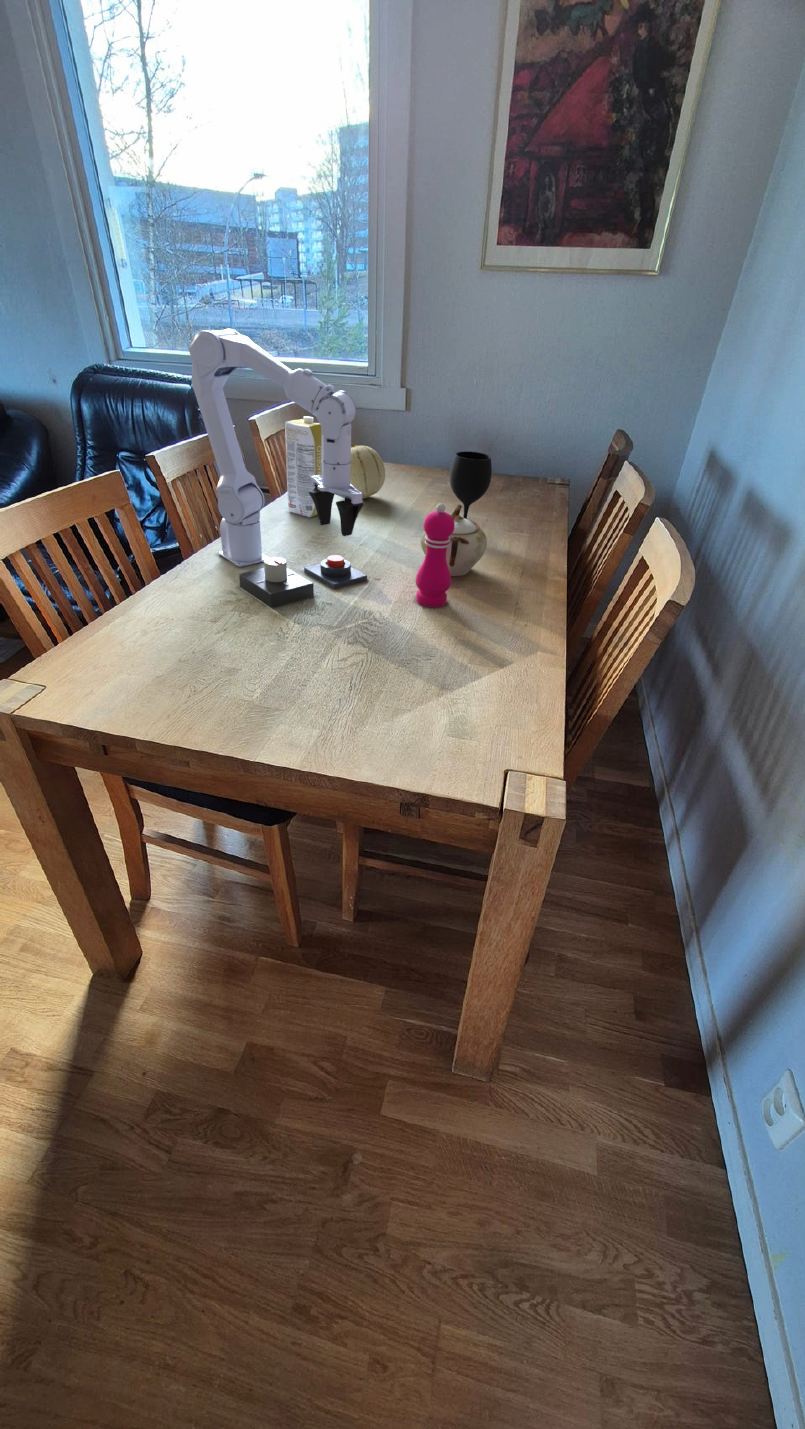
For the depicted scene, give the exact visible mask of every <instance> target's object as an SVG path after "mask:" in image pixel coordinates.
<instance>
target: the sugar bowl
mask: <svg viewBox="0 0 805 1429" xmlns="http://www.w3.org/2000/svg"><path fill="white" fill-rule="evenodd" d="M462 508H463V506H462V504H459V503H458V504H457V505H456V507H455V509H454V511H453V512H452V513H451V514H450V515H451V516H452V517H453V520H454V524H455V527H454V531H453V533H452V534H451V535H450V536H449V537H450V539H451V540H450V546H449V547H447V551H446V561H447V565H448V568H449V572H450V576H451V577H460V576H461V577H462V576H465V575H467V574H468V573H469V572H470V571H471V570H472V569H473V567H475V565H476V564H477V563H478V562H479V561H480V560H481V559H482V557H483V556H484V554H485V553H486V551H487V547H488V539H487V536H486V533H485V531H483V529H482V528H481V527H480V525H479V524H478V523H477V522H476V521H473V520H470V519H468V518H467V519H465V518H463V517H462V516H461V515H460V513H461V510H462ZM426 535H427V534H426V532H425V531H424V530H423V531H422V534H421V536H420V546H421V550H422V552H423V554H424V557H425V556H426V544H425V536H426Z"/></svg>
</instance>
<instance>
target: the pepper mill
mask: <svg viewBox="0 0 805 1429" xmlns="http://www.w3.org/2000/svg"><path fill="white" fill-rule="evenodd" d="M446 508H447V507H446V505H445V504H444V503H438V504H437V505H436V507H435V510H434V511H431V512H430V513H428V514H427V515H426V516H425V518H424V521H423V532H424V531H425V532H426V534H427V535H426V536H425V544H426V556H425V555H424V559H423V561H422V563H421V565H420V567H419V569H418V571H417V573H416V576H415V585H416V587H417V588H418V590H417V591H416V599H415V600H416V602H417V603H418V604H419V605H421V606H424V607H427V608H440V607H443V606H445V605H446V603H447V598H448V593H447V591H449V589H450V587H451V585H452V576H450V572H449V568H448V565H447V561H446V551H447V547H449V546H450V540H451V539H450V537H449V536H450V535H451V534H452V533H453V531H454V527H455V524H454V520H453V517H452V516H451V514H450V513H449V512H447V511H446V510H447V509H446Z"/></svg>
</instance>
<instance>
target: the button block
mask: <svg viewBox="0 0 805 1429" xmlns="http://www.w3.org/2000/svg"><path fill="white" fill-rule="evenodd" d="M303 572H304V573H305V574H306V575H308V576H310V577H312V578H314V579H316V580H317V581H319V582H320V583H322V584H324V585H325V586H327V587H330V588H331V589H333V590H337V589H341V588H344V587H347V586H351V585H356V584H358V583H361V582H365V581H367V580H368V574H365V573H364V572H362V571H360V570H359V569H356V568H354V567H353V566H352V564H351V562H350V560H348V559H346V558H344V566H342V567H331V566H328V565H327V558H324V559H322V560H321V561H320V563H316V564H311V565H308V566H304V567H303Z"/></svg>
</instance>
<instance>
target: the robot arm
mask: <svg viewBox="0 0 805 1429" xmlns="http://www.w3.org/2000/svg"><path fill="white" fill-rule="evenodd" d="M188 353H189V356H190V359H191V384H192V389H193V391H194V392H193V393H194V395H195V398H196V402H197V405H198V408H199V411H200V414H201V417H202V421H203V423H204V424H203V425H204V428H205V430H206V432H207V433H206V434H207V436H208V440H209V444H210V446H211V449H212V450H211V451H212V453H213V457H214V458H215V463H216V466H217V468H218V472H219V475H220V476H219V480H218V482H217V485H216V488H215V491H216V493H217V509H218V511H219V514H220V515H221V517H222V518H221V521H220V523H219V531H220V532H219V533H220V541H221V542H220V543H221V551H218V555H219V556H221V557H222V558H224V559H226V560H228V561H229V562H231V563H232V564H233V565H235V566H237V567H239V568H241V567H246V566H251V565H254V564H260V563H264V560H265V559H266V558H270V557H269V556H268V555H266V554H264V553H263V548H262V533H261V511H262V510H263V509H264V507H265V502H266V500H265V495H264V493H263V491H262V490H261V488H260V487H259V485H258V482H257V481H256V477H255V476H254V475H253V474H252V473H251V472H249V471H248V470H247V468H246V465H245V461H244V458H243V454H242V451H241V448H240V447H241V446H240V445H239V440H238V437H237V433H236V430H235V426H234V424H233V423H234V422H233V419H232V416H231V413H230V409H229V405H228V402H227V398H226V396H225V392H224V387H225V384H226V382H227V381H228V379H229V377H230V375H231V374H232V373H233V372H234V371H236V370H237V369H238V368H239V367H241V368H242V367H246V368H249V369H250V370H252V371H254V372H256V373H257V374H259V375H261V376H263V377H265V378H266V379H268V380H269V381H271V382H273V383H275V384H277V385H278V386H280V387H281V388H283V390H284V393H285V396H286V398H287V399H288V400H290V401H292V402H293V403H294V404H295V405H298V406H299V407H301V408H302V409H304V410H305V411H307V412H308V413H310V414H311V415H313V416H315V417H316V419H317V420H316V421H317V423H320V425H321V428H322V476H319V475H318V476H311V486H313V487H315V488H314V489H313V490H309V494H310V496H311V498H312V500H313V502H314V504H315V507H316V510H317V514H318V515H317V518H318V522H319V525H320V526H327V525H330V524H331V520H332V507H333V501H334V497H335V496H338V497H340V498H342V499H344V500H338V501H336V502H335V506H336V508H337V510H338V514H339V521H340V534H341V535H342V537H347V536H352V534H353V531H354V527H355V525H356V521H357V519H358V516H359V514H360V512H361V510H362V508H363V507H364V506H365V505H364V504H365V502H364V500H363V499H362V493H361V492H359V491H358V490H357V489H355V488H354V487H353V486H352V485H351V484H350V473H351V447H352V446H351V443H352V421H354V419H355V417H356V414H357V405H356V402H355V400H354V398H353V397H352V396H351V395H350V394H348V392H347V391H346V390H337V391H335V386H334V385H332V384H326V383H325V382H323V381H322V380H320V379H318V378H317V377H315V376H314V375H313V374H314V372H313V371H312V370H311V369H309V368H305V369H303V368H297V369H294V370H292V369H291V368H289V367H288V366H286V365H285V364H284V363H282V362H281V361H279V360H278V359H277V358H276V357H274V356H272V354H270V353H269V352H267V351H265V350H264V349H262V347H260V346H259V345H257V344H256V343H254V342H253V341H252V339H250V337H248V336H246V335H244V334H241V333H240V332H239V331H237V330H235V329H233V328H226V329H223V330H222V329H221V330H200V331H199V332H197V333H196V334H195V336H194V337H193V339H192V341H191V342H190V345H189V346H188Z"/></svg>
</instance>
